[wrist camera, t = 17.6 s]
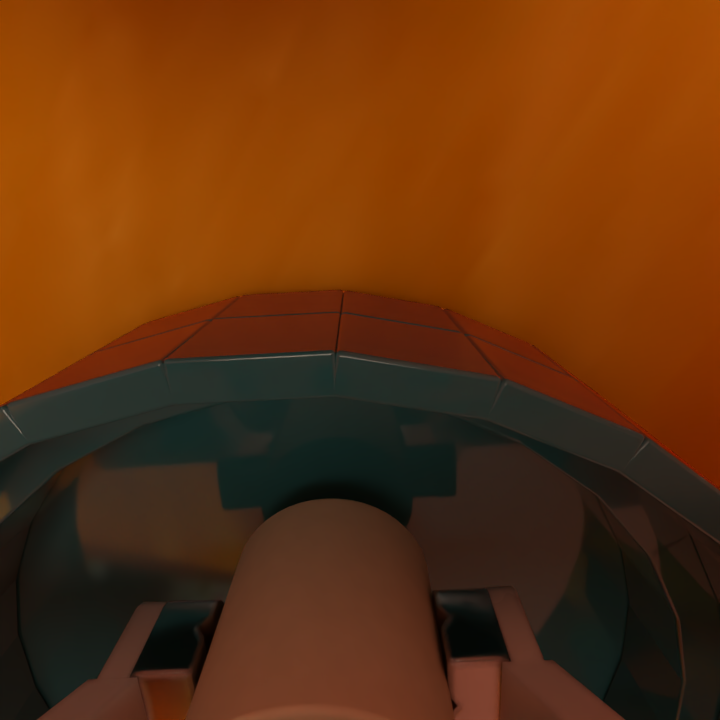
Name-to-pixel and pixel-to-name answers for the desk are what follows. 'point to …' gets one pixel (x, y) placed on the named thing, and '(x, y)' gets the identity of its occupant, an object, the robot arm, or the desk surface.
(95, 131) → the desk surface
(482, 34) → the desk surface
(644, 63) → the desk surface
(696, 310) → the desk surface
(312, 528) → the cream marshmallow
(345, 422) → the bowl
